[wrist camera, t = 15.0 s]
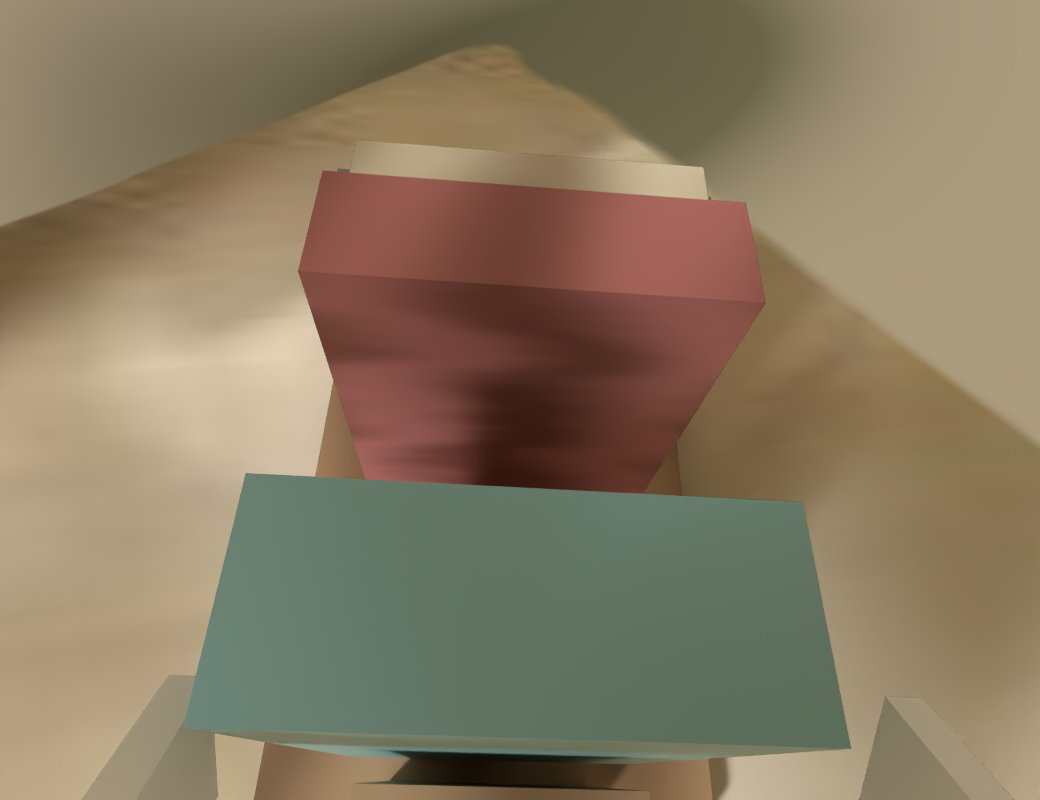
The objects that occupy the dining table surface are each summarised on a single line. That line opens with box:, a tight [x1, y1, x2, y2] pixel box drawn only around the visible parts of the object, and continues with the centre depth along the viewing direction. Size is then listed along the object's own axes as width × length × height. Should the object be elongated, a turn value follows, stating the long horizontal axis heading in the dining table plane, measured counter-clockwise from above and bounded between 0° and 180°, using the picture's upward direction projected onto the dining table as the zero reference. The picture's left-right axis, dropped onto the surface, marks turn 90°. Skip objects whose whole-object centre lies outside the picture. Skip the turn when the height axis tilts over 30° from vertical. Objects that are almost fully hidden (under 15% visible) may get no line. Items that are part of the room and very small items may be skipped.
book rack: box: [254, 140, 766, 800], centre depth 21 cm, size 16×18×18 cm
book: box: [183, 473, 851, 764], centre depth 18 cm, size 10×4×16 cm, turn 88°
